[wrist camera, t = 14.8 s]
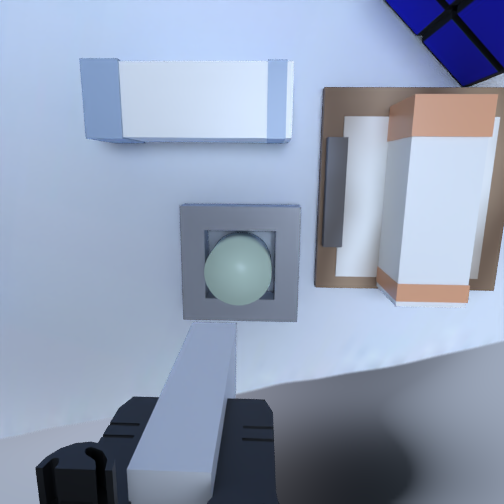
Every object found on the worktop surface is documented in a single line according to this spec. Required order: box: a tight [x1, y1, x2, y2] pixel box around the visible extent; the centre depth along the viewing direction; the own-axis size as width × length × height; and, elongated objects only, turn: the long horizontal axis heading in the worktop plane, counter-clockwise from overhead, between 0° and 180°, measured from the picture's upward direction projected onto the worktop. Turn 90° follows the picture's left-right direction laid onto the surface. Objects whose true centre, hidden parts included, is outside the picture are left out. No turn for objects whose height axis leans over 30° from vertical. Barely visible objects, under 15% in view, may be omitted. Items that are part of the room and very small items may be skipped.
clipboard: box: [314, 87, 504, 291], centre depth 29 cm, size 14×15×2 cm
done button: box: [204, 232, 272, 305], centre depth 29 cm, size 5×5×4 cm
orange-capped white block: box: [376, 94, 498, 308], centre depth 26 cm, size 13×5×5 cm, turn 179°
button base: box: [180, 204, 301, 322], centre depth 30 cm, size 9×9×2 cm
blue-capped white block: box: [79, 58, 294, 143], centre depth 26 cm, size 13×5×5 cm, turn 90°
